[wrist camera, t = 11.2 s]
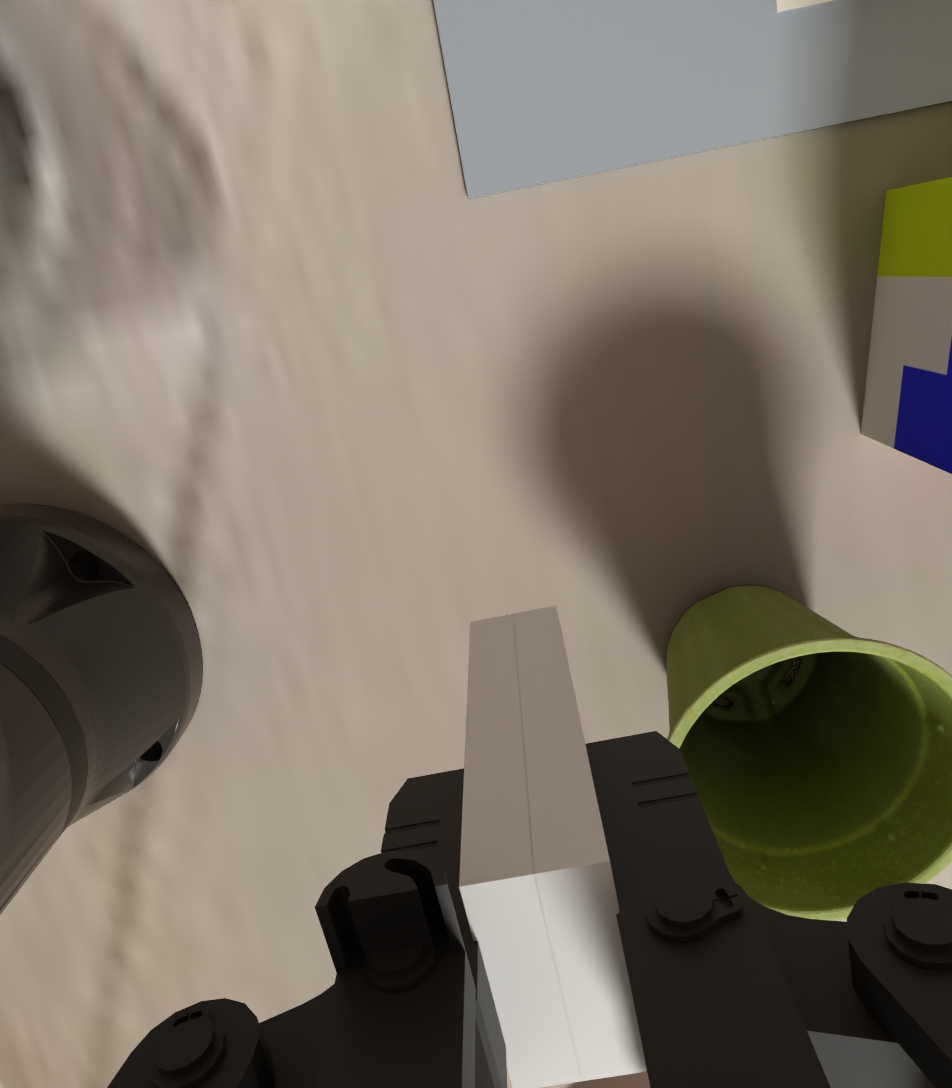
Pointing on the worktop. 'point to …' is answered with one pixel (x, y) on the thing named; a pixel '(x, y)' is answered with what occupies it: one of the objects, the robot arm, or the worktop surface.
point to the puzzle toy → (913, 326)
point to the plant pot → (811, 751)
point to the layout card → (673, 77)
